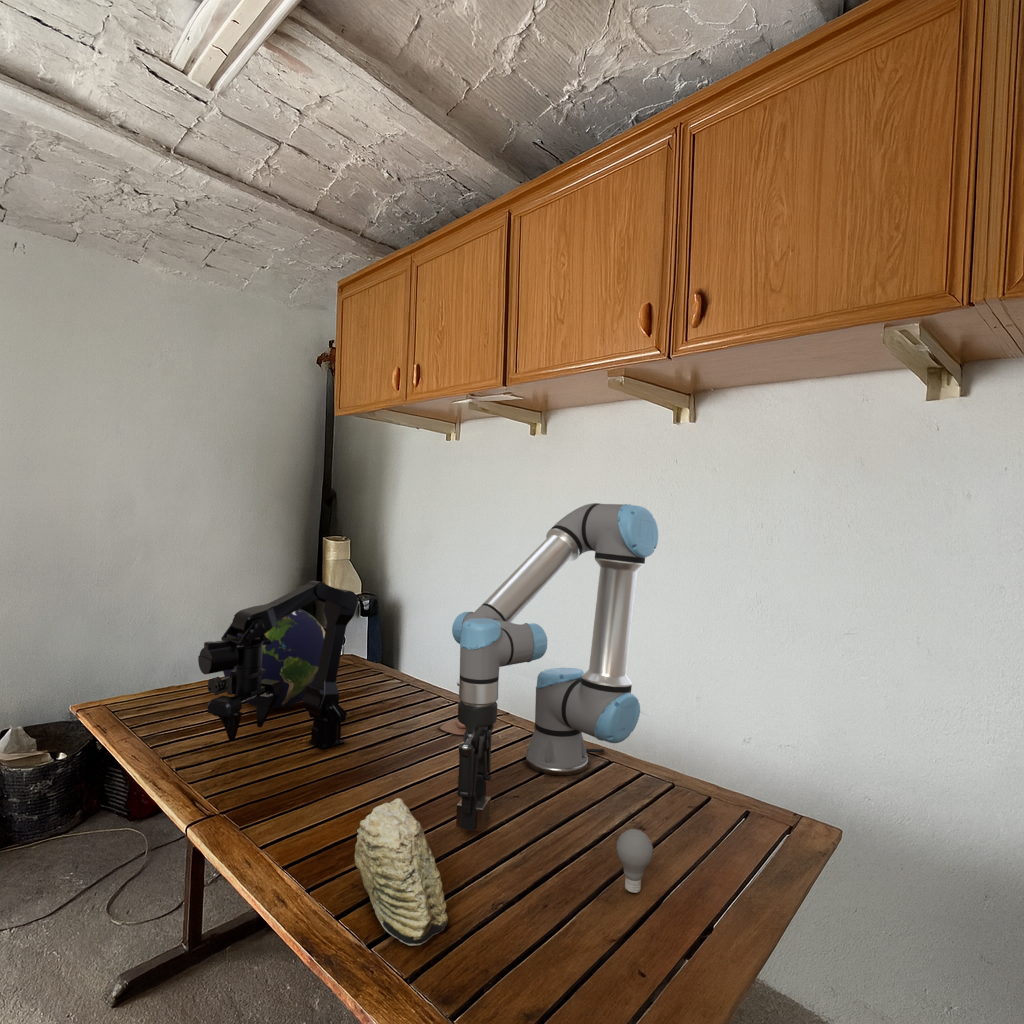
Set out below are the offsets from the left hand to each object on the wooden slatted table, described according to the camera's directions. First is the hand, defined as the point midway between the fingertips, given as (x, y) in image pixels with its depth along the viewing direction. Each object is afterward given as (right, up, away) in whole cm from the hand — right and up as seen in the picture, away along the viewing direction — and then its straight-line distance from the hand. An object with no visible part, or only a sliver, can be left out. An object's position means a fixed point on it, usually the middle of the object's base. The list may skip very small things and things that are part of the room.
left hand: (246, 733), depth 145 cm
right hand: (+53, -9, -23) cm, 59 cm away
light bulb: (+81, -13, -39) cm, 91 cm away
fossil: (+43, -11, -47) cm, 64 cm away
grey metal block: (+53, -9, -23) cm, 59 cm away
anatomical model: (+48, -10, +32) cm, 59 cm away
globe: (-10, -7, +43) cm, 45 cm away
